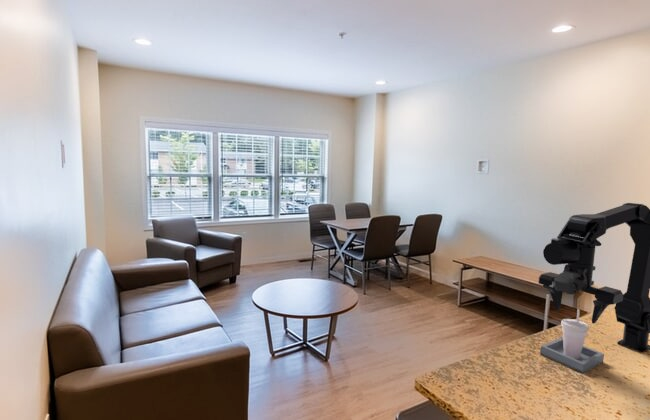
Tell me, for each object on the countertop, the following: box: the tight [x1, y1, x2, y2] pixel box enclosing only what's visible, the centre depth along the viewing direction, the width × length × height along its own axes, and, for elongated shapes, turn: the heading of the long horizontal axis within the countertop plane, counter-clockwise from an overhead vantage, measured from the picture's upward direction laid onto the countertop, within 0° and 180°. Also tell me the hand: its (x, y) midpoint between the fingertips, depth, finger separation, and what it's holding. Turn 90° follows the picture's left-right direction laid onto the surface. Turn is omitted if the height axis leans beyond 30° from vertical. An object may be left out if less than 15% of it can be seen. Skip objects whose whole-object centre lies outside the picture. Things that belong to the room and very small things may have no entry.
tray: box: [539, 336, 605, 374], centre depth 102 cm, size 11×11×2 cm
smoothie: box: [560, 307, 590, 360], centre depth 102 cm, size 6×6×14 cm
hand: (574, 316), depth 101 cm, fingers open, 9 cm apart
